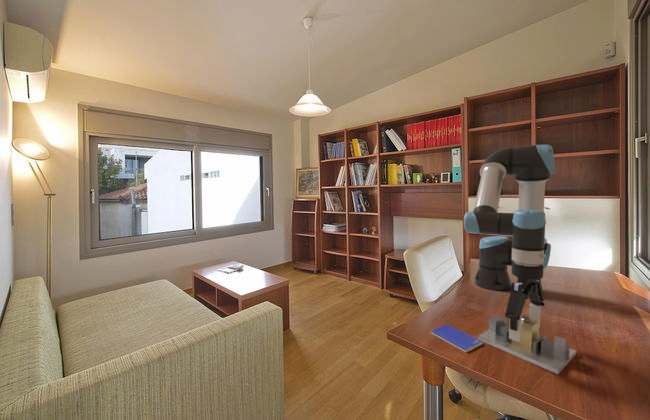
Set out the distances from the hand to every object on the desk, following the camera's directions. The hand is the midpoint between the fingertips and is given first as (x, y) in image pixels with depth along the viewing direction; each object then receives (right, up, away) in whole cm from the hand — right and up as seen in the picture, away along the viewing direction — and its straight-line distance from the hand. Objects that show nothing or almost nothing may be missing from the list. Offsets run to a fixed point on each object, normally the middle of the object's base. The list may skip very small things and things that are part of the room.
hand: (524, 332), depth 82 cm
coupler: (0, -3, 0) cm, 3 cm away
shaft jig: (0, -4, 0) cm, 4 cm away
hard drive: (-18, -5, +6) cm, 20 cm away
